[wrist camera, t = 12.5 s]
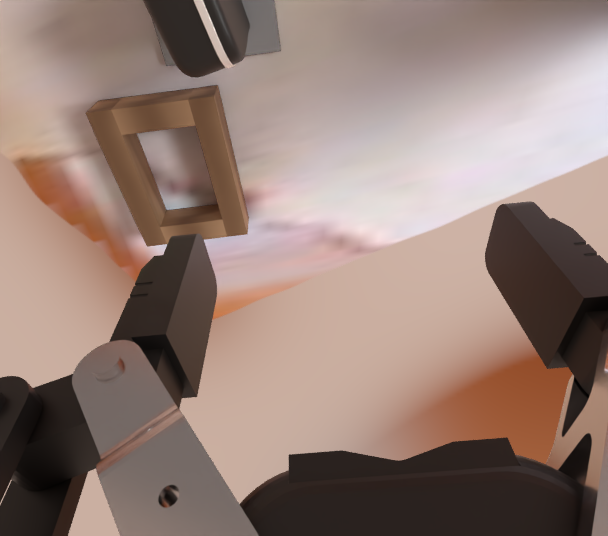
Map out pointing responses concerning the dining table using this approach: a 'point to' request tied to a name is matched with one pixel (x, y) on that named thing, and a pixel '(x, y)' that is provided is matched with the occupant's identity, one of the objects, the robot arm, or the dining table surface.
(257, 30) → the mat
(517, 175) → the dining table surface
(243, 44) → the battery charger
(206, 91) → the frame
